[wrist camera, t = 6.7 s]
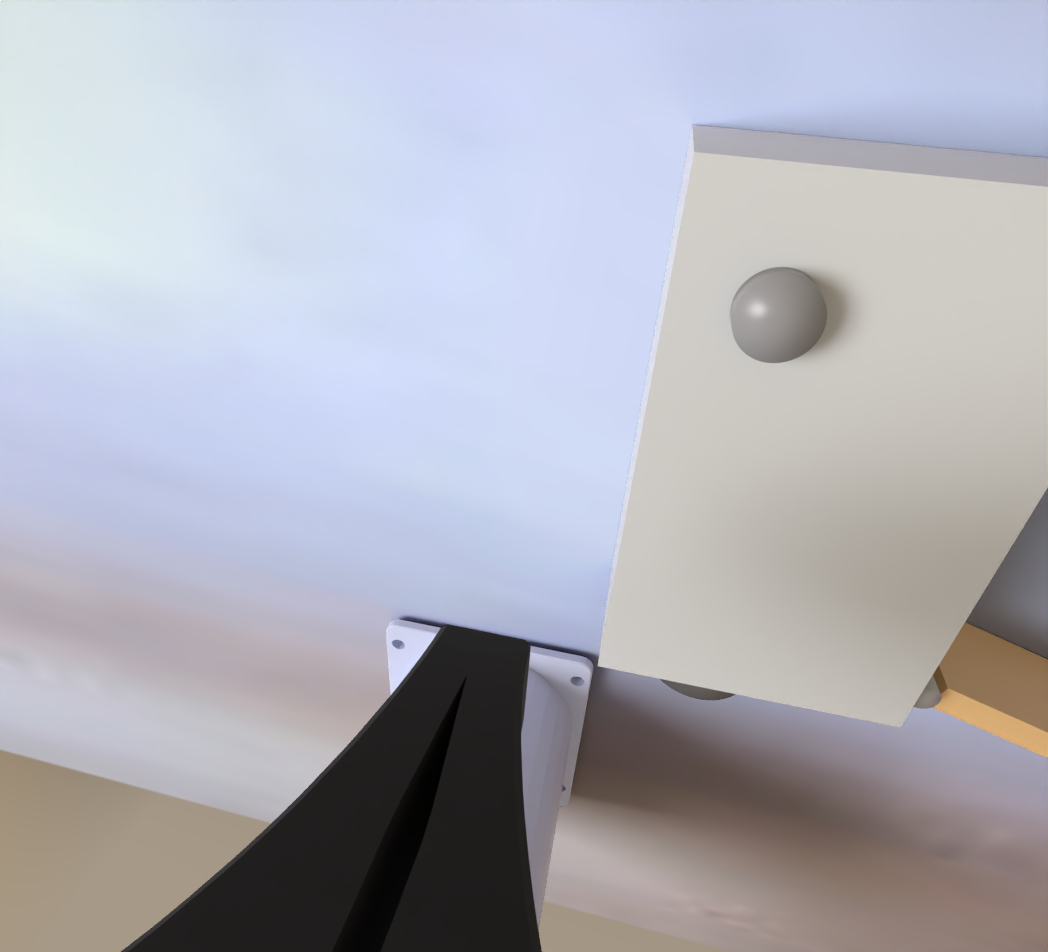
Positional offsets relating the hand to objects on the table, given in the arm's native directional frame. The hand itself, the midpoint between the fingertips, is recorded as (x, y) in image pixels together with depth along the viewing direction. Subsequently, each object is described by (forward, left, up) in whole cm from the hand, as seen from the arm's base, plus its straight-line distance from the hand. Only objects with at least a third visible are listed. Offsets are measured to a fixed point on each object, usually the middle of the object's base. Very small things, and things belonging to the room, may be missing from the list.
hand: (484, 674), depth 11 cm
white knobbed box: (0, -6, -10) cm, 12 cm away
